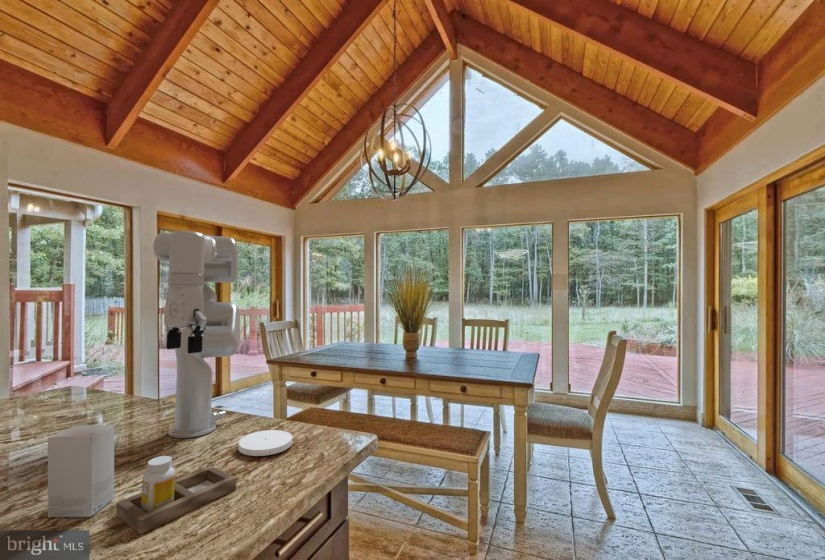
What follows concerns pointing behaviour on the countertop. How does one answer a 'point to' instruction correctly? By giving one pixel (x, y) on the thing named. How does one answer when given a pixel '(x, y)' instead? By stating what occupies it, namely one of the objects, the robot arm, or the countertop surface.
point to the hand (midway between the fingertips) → (183, 350)
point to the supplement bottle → (158, 484)
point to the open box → (177, 499)
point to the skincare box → (80, 470)
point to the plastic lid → (265, 443)
